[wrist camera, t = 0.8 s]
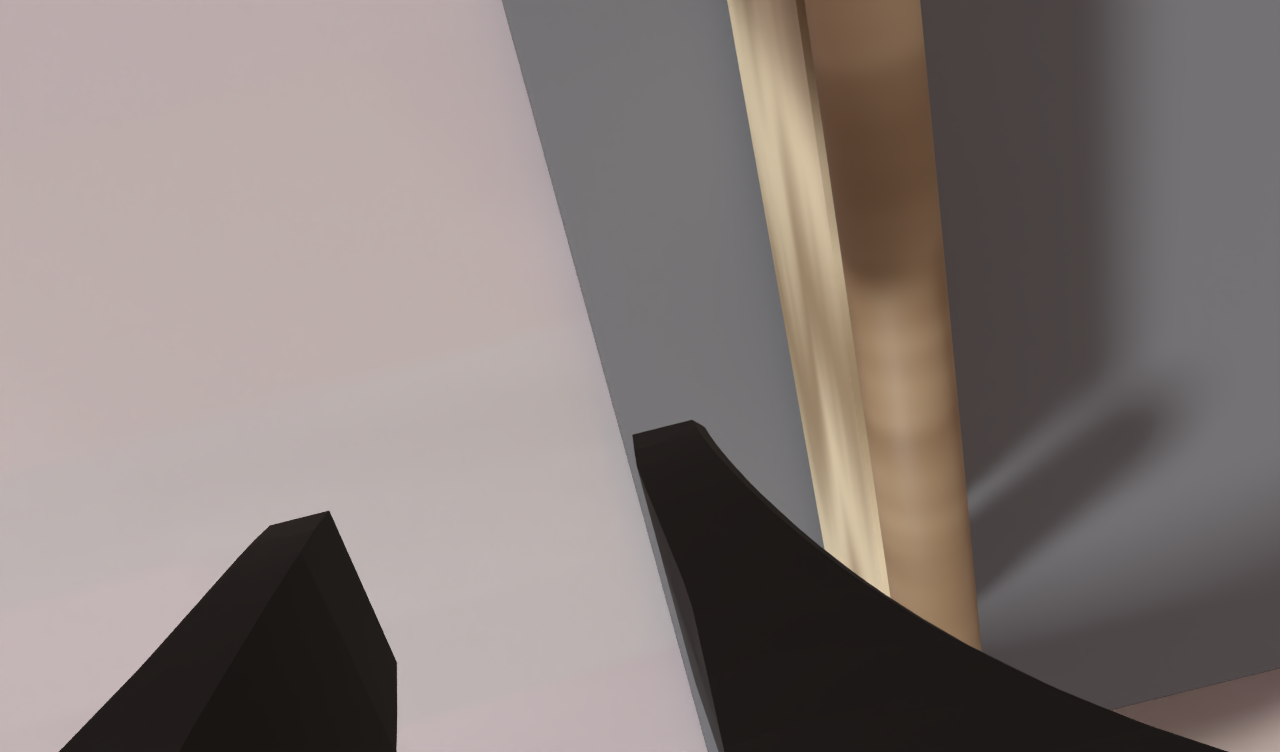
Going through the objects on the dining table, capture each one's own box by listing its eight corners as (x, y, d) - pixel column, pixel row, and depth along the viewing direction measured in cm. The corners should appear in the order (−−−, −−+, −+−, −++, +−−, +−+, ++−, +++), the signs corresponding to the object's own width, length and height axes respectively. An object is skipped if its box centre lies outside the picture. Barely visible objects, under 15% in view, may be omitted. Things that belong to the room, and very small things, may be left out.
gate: (903, 584, 23) (1027, 824, 17) (820, 605, 23) (917, 852, 17) (788, -260, 15) (941, -302, 10) (664, -229, 15) (750, -254, 10)
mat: (1684, 550, 26) (1704, 562, 26) (718, 789, 26) (722, 806, 26) (2042, -630, 16) (2086, -643, 15) (443, -220, 16) (441, -221, 15)
